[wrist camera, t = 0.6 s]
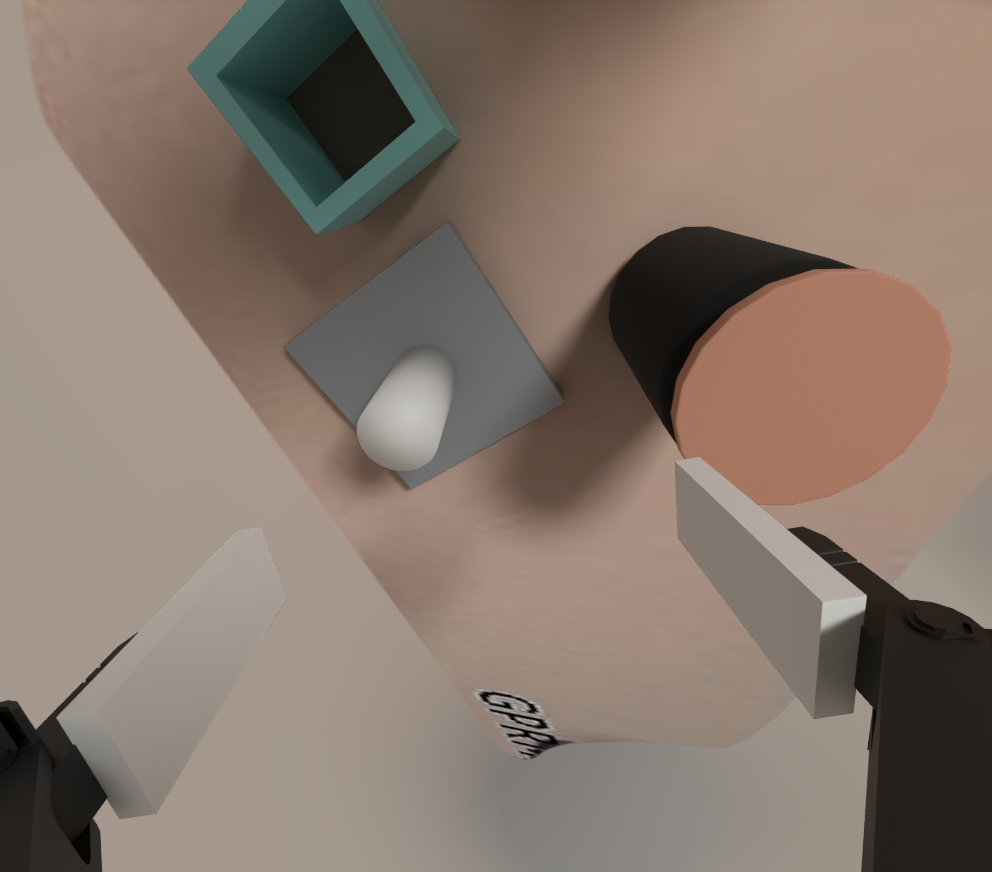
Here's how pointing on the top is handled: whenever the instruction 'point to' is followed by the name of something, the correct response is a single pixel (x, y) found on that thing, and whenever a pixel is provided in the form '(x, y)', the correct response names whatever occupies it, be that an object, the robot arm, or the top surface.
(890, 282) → the coffee jar
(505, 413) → the grey square base plate
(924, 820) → the robot arm
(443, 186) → the top surface
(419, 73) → the teal storage bin
